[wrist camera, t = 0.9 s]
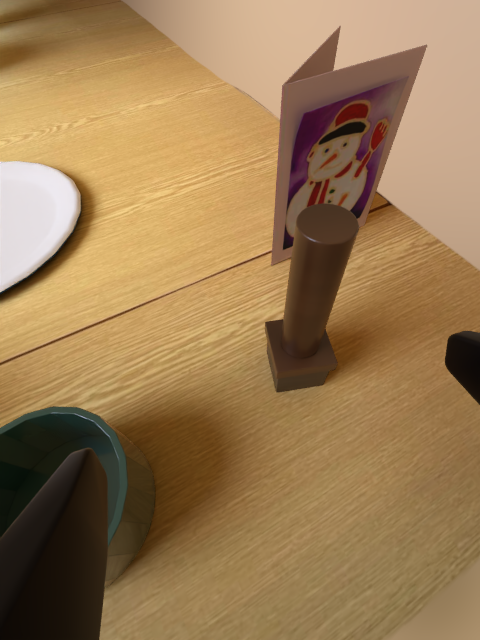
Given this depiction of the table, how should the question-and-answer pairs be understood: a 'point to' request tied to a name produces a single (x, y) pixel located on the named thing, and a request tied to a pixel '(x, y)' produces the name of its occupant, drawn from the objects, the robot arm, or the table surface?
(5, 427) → the green and tan cup
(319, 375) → the brown stamp
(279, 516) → the table surface
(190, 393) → the table surface
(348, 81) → the greeting card
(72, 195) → the plate
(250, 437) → the table surface
